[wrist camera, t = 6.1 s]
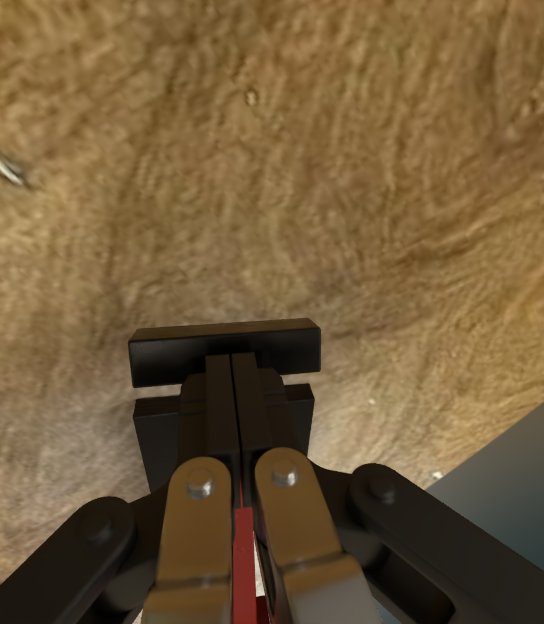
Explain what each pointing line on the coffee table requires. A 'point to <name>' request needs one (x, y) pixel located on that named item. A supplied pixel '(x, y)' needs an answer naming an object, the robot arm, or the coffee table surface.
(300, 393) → the lever stand
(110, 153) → the coffee table surface
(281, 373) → the red lever
